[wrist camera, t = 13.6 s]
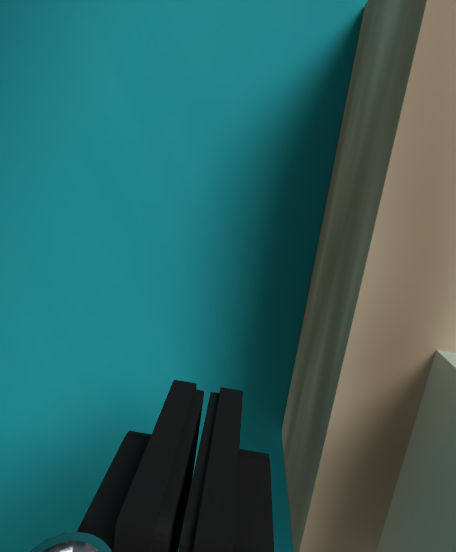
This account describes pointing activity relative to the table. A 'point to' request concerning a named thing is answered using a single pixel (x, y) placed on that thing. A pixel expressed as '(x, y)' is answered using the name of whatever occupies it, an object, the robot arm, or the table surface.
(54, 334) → the table surface
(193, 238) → the table surface
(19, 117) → the table surface
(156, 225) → the table surface
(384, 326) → the striped wooden block
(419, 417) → the pale green block
